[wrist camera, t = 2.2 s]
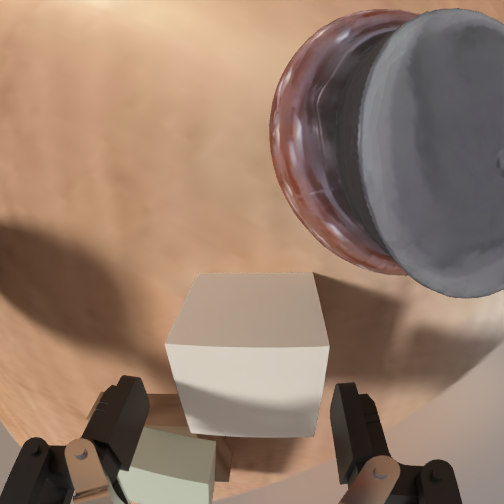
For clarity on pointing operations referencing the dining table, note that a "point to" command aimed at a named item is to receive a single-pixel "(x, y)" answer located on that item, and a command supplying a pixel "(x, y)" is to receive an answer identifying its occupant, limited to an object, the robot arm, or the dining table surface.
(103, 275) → the dining table surface
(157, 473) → the upper block
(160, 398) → the lower block
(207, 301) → the cream block
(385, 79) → the supplement bottle
